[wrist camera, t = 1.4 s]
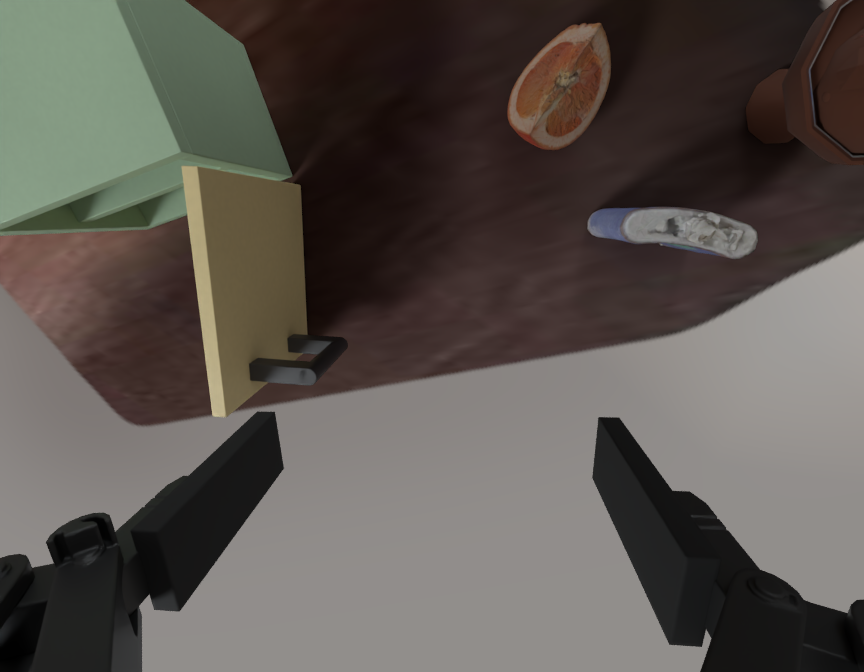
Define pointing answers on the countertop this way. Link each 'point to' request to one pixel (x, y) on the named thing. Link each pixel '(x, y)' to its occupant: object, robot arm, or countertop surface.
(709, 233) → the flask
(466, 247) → the countertop surface
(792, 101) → the ice cream bowl
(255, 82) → the cupboard
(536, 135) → the fruit slice
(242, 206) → the door
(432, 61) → the countertop surface
